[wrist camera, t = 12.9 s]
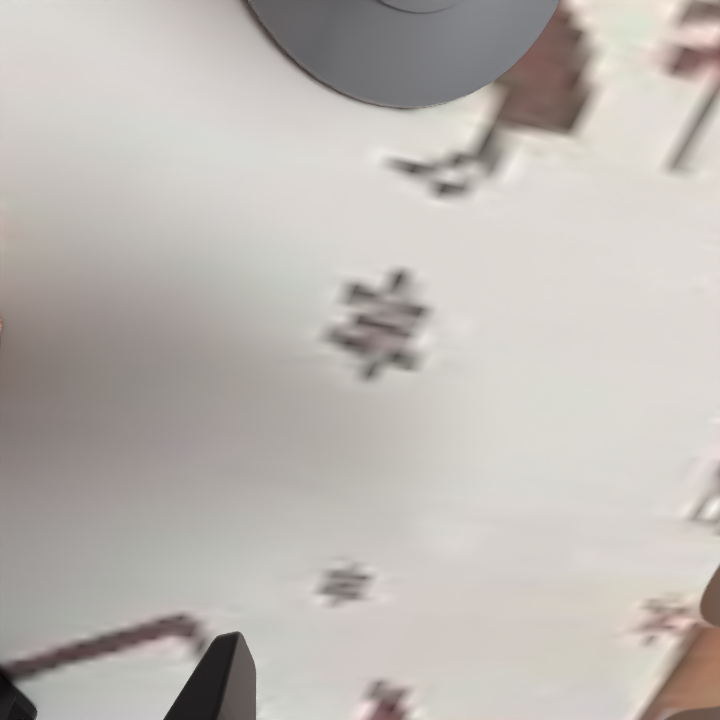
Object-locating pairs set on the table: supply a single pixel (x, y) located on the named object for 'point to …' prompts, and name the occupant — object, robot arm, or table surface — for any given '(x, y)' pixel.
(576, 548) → the table surface
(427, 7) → the silver metal tumbler
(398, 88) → the coaster
